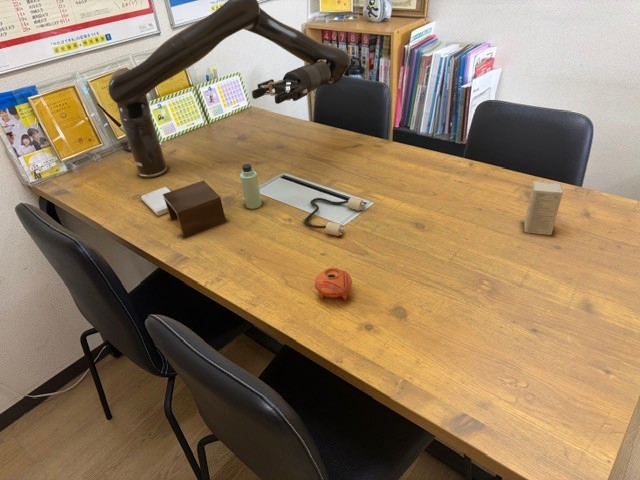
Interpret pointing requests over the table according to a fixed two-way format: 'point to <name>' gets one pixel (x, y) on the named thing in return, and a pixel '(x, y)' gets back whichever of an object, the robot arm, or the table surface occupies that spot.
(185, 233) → the stand
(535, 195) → the cosmetic box
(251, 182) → the bottle
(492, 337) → the table surface
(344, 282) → the pot
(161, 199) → the hard drive
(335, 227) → the cable
